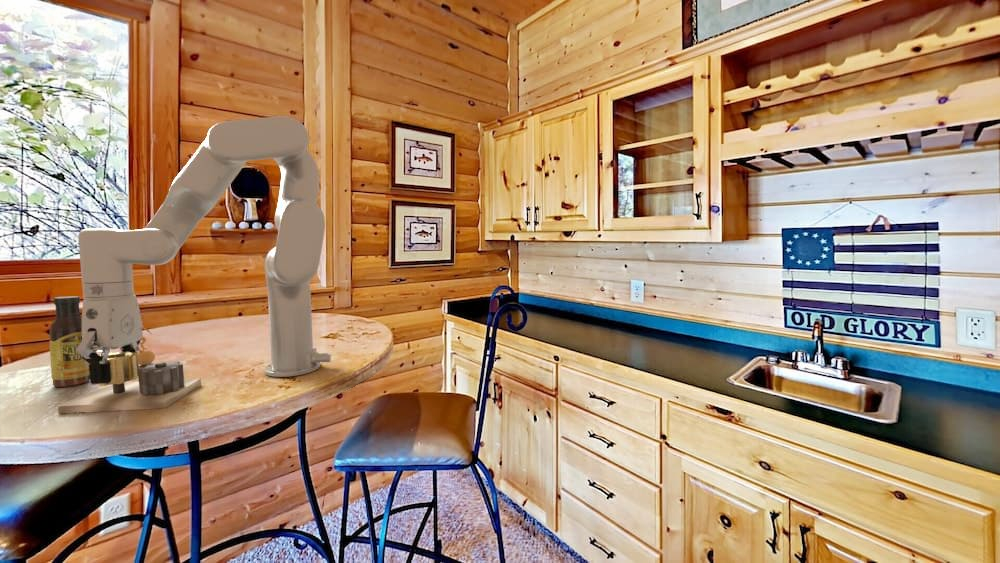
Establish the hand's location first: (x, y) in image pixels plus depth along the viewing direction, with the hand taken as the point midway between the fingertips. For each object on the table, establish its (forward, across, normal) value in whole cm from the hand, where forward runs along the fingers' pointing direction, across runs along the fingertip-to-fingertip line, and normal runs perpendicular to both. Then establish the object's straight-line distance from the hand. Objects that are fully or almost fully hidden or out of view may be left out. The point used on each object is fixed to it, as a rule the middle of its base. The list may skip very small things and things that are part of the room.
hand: (115, 375), depth 85 cm
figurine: (+5, +25, +11) cm, 28 cm away
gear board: (+5, 0, -3) cm, 6 cm away
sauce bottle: (+5, +12, +17) cm, 21 cm away
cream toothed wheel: (+1, 0, 0) cm, 1 cm away
